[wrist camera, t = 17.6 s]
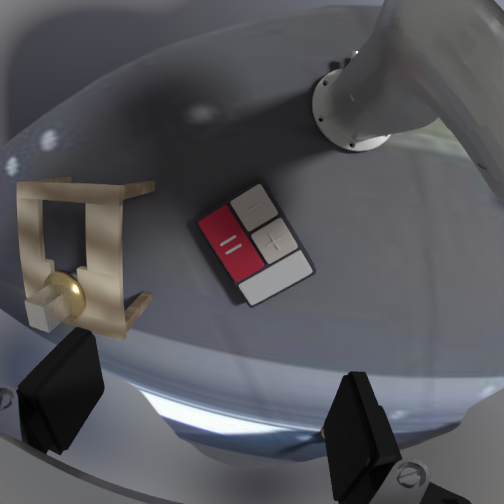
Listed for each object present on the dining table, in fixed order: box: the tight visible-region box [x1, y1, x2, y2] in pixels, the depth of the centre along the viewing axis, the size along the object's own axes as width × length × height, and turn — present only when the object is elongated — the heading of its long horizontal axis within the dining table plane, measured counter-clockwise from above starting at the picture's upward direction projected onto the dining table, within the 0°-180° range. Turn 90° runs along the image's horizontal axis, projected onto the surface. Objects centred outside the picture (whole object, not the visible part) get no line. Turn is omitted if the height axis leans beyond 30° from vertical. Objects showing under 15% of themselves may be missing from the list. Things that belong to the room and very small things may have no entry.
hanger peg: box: [25, 264, 87, 333], centre depth 36 cm, size 7×7×16 cm
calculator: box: [195, 179, 316, 308], centre depth 42 cm, size 11×4×15 cm
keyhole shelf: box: [17, 177, 156, 341], centre depth 39 cm, size 20×18×12 cm
